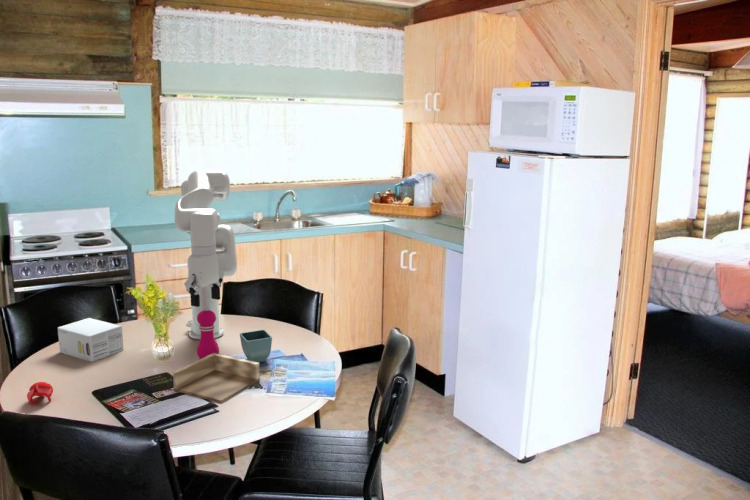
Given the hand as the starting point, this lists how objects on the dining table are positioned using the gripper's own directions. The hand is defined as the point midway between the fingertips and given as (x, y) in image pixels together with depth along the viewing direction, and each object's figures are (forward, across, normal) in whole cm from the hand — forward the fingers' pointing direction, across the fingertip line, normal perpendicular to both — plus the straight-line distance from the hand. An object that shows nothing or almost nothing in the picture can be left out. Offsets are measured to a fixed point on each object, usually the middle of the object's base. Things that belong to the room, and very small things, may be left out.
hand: (205, 302), depth 203 cm
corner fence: (+22, +11, +13) cm, 28 cm away
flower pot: (+22, -11, +11) cm, 27 cm away
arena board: (+22, +11, +13) cm, 28 cm away
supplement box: (+21, +10, -44) cm, 49 cm away
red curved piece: (+22, +43, -24) cm, 54 cm away
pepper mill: (+21, -1, -1) cm, 21 cm away
